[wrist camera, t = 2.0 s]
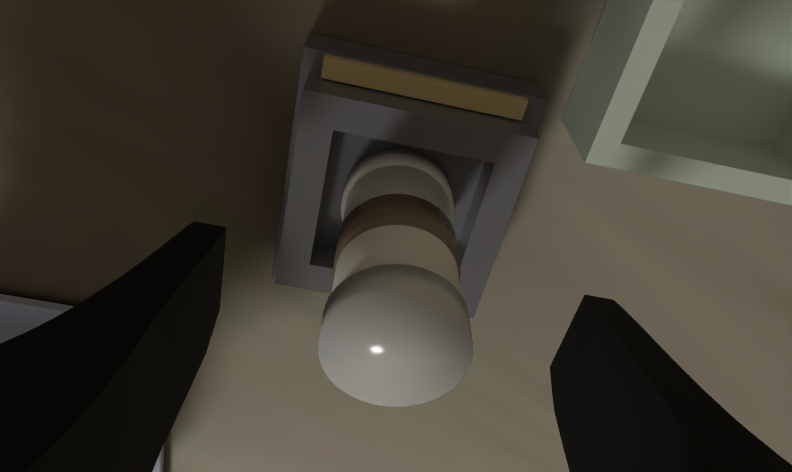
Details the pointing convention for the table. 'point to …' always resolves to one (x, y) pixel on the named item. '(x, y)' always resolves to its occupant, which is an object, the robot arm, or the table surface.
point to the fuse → (396, 285)
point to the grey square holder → (402, 127)
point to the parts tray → (690, 94)
